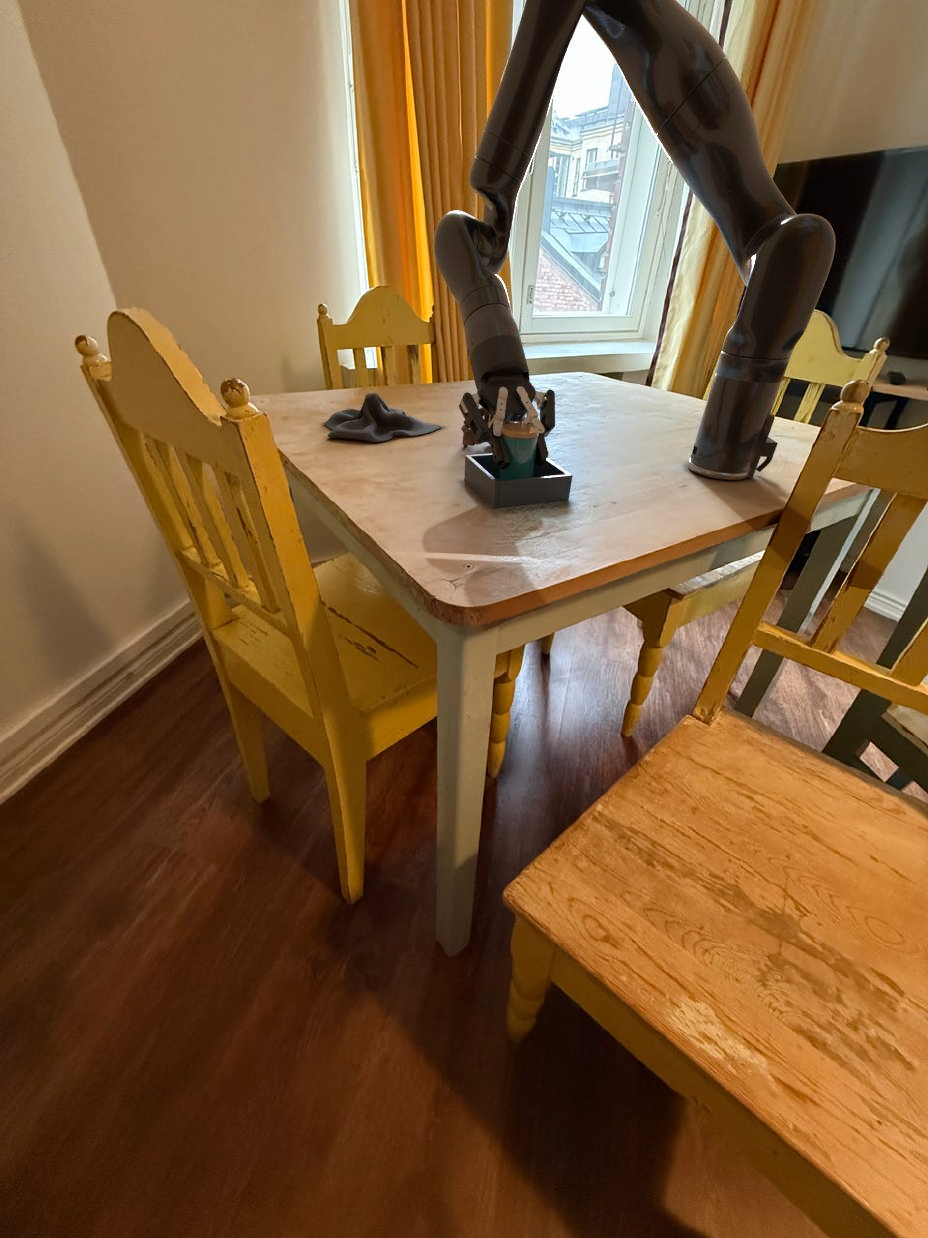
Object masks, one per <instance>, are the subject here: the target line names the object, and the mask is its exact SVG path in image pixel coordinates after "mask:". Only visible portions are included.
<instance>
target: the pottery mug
mask: <svg viewBox="0 0 928 1238" xmlns="http://www.w3.org/2000/svg"><path fill="white" fill-rule="evenodd" d="M479 410H480V412H481V414H482V416H483V418H484V420H485V422H486V424H487V426H488V425H489V416H490V414H489V413H488V412H487V411H486V410H485V409H484V408H483V407H482V406H481V407H479ZM508 423H516V422H513V421H507V422H504V423H503V425H505V424H508ZM460 430H461V431H462V433H463V434H462V445H463V447H464V448H467V447H468V446H471V447H474V446H476V445H482V444H483V443H487V442H486V441H481V442H478V441H476V440H475V438H474V436H473V434H472V432H471V430H470V428H469V426H468V424H467V422H466V420H465V419H464V420H463V425H462V426H461V428H460ZM501 437H502V434H501Z"/></svg>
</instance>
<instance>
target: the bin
mask: <svg viewBox="0 0 928 1238" xmlns="http://www.w3.org/2000/svg"><path fill="white" fill-rule="evenodd" d="M464 459H465V460H464V481H465V482H466V483H467V484H468V485H469V486H470V487H471V488H472V489H473V490H474V492H476V493H477V494H478V495H479V496H480V497H481V498H482V499H483V500H484V501H485V502H486V503H487V504H488V505H489V506H490V507H491V508H492V509H493V510H498V509H506V508H515V507H524V506H533V505H541V504H551V503H560V502H569V500H570V494H571V488H572V483H573V474H571V473H570V472H569V471H567V470H565V469H564V468H562V467H561V466H559V465H558V464H556V463H555V462H554V461H552V460H551V459H550V458H548V457H547V459H546V462H545V463H544V464H543V465H542V466H536V465H535V466H534V475H533V478H523V479H512V480H502V481H498V480H499V465H498V466H497V465H496V464H495V462H494V458H493V454H492V452H491V453H479V454H466V455H465V457H464Z"/></svg>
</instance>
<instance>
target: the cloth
mask: <svg viewBox="0 0 928 1238" xmlns="http://www.w3.org/2000/svg"><path fill="white" fill-rule="evenodd" d="M323 424H324V426H326V427H327V428H328V429H330V430H331V431H330V432H329V433H328V434H327V437H328V438H330V439H344V440H345V439H346V440H356V441H357V440H358V441H359V440H360V441H363V442H364V441H365V442H370V443H382V442H387V441H390V440H392V439H393V438H395V437H417V436H424V435H427V434H430V433H432V432H435V431H437V430H440V429H442V428H443V426H442V425H438V424H433V423H427V422H424V421H421V420H420V419H417V418H415V417H413V416H412V415H407V414H406V413H405V411H404V410H402V409H400V408H389V406H388V404H387V403H386V402H385V401H384V400H383V399H382V397H381V396H380V395H379V394H378V393H377V392H370V393H367V394H365V396H364V400H363V404H362V406H361V407H360V409H356V408H350V407H349V408H345V409H342V410H339V411H336V412H334V413H333V414H331V415H330V416H329V418H328V419H327V420H326V421H325V422H323Z"/></svg>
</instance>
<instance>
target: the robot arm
mask: <svg viewBox="0 0 928 1238" xmlns="http://www.w3.org/2000/svg"><path fill="white" fill-rule="evenodd" d="M582 16H583V18H584V19H585V20H586V22H587V23H588V24H589V25H590V27H591V28H592V29H593V30H594V32H595V33H596V34H597V36H598V37H599V38H600V40H601V41H602V42H603V43H604V45H605V47H606V48H607V49H608V51H609V52H610V54H611V56H612V57H613V59H614V60H615V63H616V65H617V66H618V68H619V70H620V72H621V75H622V77H623V79H624V81H625V83H626V85H627V86H628V89H629V91H630V93H631V94H632V97H633V98H634V100H635V102H636V104H637V106H638V108H639V109H640V111H641V113H642V115H643V117H644V119H645V120H646V122H647V124H648V126H649V128H650V129H651V132H652V133H653V135H654V136H655V138H656V140H657V141H658V143H659V145H660V146H661V148H662V149H663V150H664V151H663V152H664V153H665V154H666V155H667V158H668V160H669V161H670V162H671V163H672V165H673V166H674V168H675V169H676V170H677V172H678V173H679V175H680V176H681V178H682V179H683V181H684V182H685V184H686V185H687V187H688V188H689V189H690V191H691V192H692V193H693V195H694V196H695V198H696V199H697V200H698V201H699V202H700V204H701V205H702V207H703V208H704V209H705V210H706V211H707V213H708V214H709V215H710V217H711V218H712V220H713V221H714V223H715V225H716V226H717V228H718V230H719V232H720V234H721V236H722V238H723V241H724V242H725V244H726V246H727V249H728V250H729V252H730V254H731V255H730V256H731V257H732V259H733V262H734V264H735V266H736V269H737V271H738V273H739V275H740V279H741V280H742V282H743V284H744V286H745V287H746V289H745V292H744V296H743V299H742V301H741V304H740V308H739V311H738V314H737V316H736V318H735V321H734V322H733V324H732V326H731V327H730V329H729V330H728V331H727V333H726V335H725V337H724V340H723V343H722V344H723V345H722V347H721V351H720V354H719V358H718V361H717V366H716V368H715V372H714V375H713V378H712V381H711V385H710V389H709V392H708V396H707V400H706V402H705V407H704V410H703V413H702V416H701V420H700V423H699V426H698V430H697V433H696V437H695V440H694V443H693V444H692V445H691V450H690V458H689V459H688V462H687V468H688V469H689V470H690V471H692V472H693V473H696V474H698V475H700V476H704V477H706V478H711V479H716V480H725V481H739V480H745V479H753V478H754V476H755V473H756V471H757V472H758V473H762V471H763V470H764V469H765V468H766V467H768V466H769V465H770V463H771V462H772V460H773V458H774V455H775V452H776V450H777V446H778V442H777V441H775V440H774V439H773V438H771V437H769V435H770V433H771V431H772V428H773V425H774V422H775V419H776V418H775V417H776V416H775V414H773V413H772V410H773V408H774V405H775V401H776V399H777V396H778V394H779V391H780V387H781V385H782V382H783V380H784V377H785V374H786V371H787V369H788V366H789V362H790V360H791V358H792V355H793V352H794V349H795V347H796V345H797V344H798V343H799V341H800V339H802V337H803V336H804V334H805V332H806V330H807V328H808V325H809V324H810V322H811V318H812V316H813V314H814V311H815V309H816V306H817V305H818V302H819V299H820V297H821V294H822V292H823V290H824V287H825V284H826V281H827V279H828V276H829V273H830V270H831V267H832V264H833V260H834V257H835V252H836V235H835V231H834V229H833V227H832V224H831V223H830V222H829V221H828V220H827V219H826V218H824V217H823V216H821V215H818V214H815V213H800V214H799V213H798V214H797V212H796V211H795V210H794V209H793V207H792V206H791V205H790V204H789V203H788V201H787V200H786V198H785V197H784V195H783V194H782V192H781V191H780V189H779V188H778V186H777V184H776V183H775V181H774V179H773V178H772V176H771V174H770V172H769V169H768V166H767V164H766V160H765V156H764V152H763V149H762V145H761V140H760V135H759V131H758V127H757V123H756V119H755V116H754V111H753V109H752V106H751V102H750V100H749V97H748V95H747V93H746V91H745V88H744V86H743V85H742V83H741V81H740V79H739V77H738V75H737V73H736V71H735V69H734V68H733V66H732V64H731V63H730V61H729V59H728V57H727V55H726V53H725V51H724V50H723V49H722V47H721V46H720V44H719V43H718V42H717V40H716V39H715V37H714V36H713V35H712V34H711V33H710V31H709V30H708V29H707V28H706V27H705V26H704V25H703V24H702V23H701V22H700V20H698V19H697V18H696V17H695V16H694V15H693V14H691V12H689V11H688V10H687V9H686V8H685V7H684V6H683V5H682V4H680V3H679V1H677V0H525V1H524V5H523V9H522V12H521V16H520V20H519V23H518V27H517V30H516V33H515V37H514V39H513V43H512V46H511V49H510V51H509V54H508V59H507V61H506V64H505V67H504V70H503V73H502V76H501V78H500V82H499V84H498V88H497V90H496V94H495V96H494V99H493V102H492V105H491V108H490V111H489V113H488V117H487V120H486V121H485V125H484V129H483V131H482V134H481V137H480V140H479V143H478V144H477V145H478V146H477V149H476V152H475V155H474V158H473V160H472V163H471V167H470V170H469V174H468V183H469V186H470V187H471V189H472V190H473V192H474V193H475V194H476V195H477V196H478V197H479V198H480V199H481V200H482V202H483V213H482V220H480V219H478V218H477V217H475V216H473V215H471V214H469V213H467V212H465V211H462V210H451V211H449V212H447V213H445V214H443V216H442V217H441V219H439V221H438V222H437V225H436V228H435V231H434V237H433V252H434V258H435V263H436V265H437V267H438V270H439V272H440V274H441V276H442V279H443V280H444V282H445V284H446V286H447V288H448V289H449V292H450V294H451V295H452V297H453V299H454V300H455V302H456V303H457V305H458V310H459V313H460V318H461V323H462V325H463V330H464V339H465V346H466V355H467V356H468V359H469V364H470V367H471V371H472V376H473V380H474V384H475V388H476V390H477V391H476V393H473V394H472V393H471V392H467V391H466V392H464V393H463V396H462V398H461V400H460V402H459V404H458V409H459V410H460V413H461V414H462V417H463V419H464V420H466V422H467V424H468V426H469V429H470V430H471V432H472V434H473V436H474V438H475V440H476V441H478V442H481V441H486V442H485V443H488V444H489V446H490V450H491V453H492V454H493V458H494V462H495V464H496V465H497V466H498V465H499V468H500V470H501V469H506V468H507V467H508V465H509V463H510V459H509V455H508V451H507V447H506V443H505V439H504V437H501V434H502V427H503V423H504V422H507V421H513V422H515V423H526V424H531V425H534V426H537V427H538V428H539V435H538V440H537V449H536V457H535V465H536V466H542V465H543V464H544V463H545V462H546V459H547V458H548V457H549V450H548V447H547V442H546V438H547V437H548V436H549V435H550V433H551V432H552V431H553V430H554V428H555V427H556V392H555V390H553V389H551V388H549V389H547V390H546V392H543V391H539V390H536V388H535V386H534V385H533V384H532V382H531V379H530V369H529V365H528V361H527V358H526V354H525V350H524V347H523V341H522V338H521V335H520V330H519V327H518V324H517V322H516V320H515V317H514V314H513V311H512V306H511V303H510V299H509V294H508V292H507V288H506V285H505V283H504V281H503V280H502V278H501V277H500V276H499V274H500V272H501V270H502V269H503V267H504V265H505V262H506V260H507V256H508V252H509V247H510V240H511V236H512V235H511V234H512V229H513V223H514V219H515V218H514V217H515V213H516V207H517V200H518V196H519V193H520V190H521V188H522V185H523V183H524V181H525V179H526V176H527V172H528V171H529V168H530V166H531V163H532V160H533V158H534V155H535V153H536V150H537V147H538V145H539V142H540V138H541V136H542V132H543V129H544V127H545V123H546V120H547V117H548V115H549V114H548V113H549V110H550V107H551V103H552V99H553V97H554V93H555V90H556V87H557V83H558V80H559V77H560V74H561V71H562V68H563V64H564V62H565V59H566V55H567V53H568V50H569V47H570V44H571V42H572V39H573V37H574V35H575V32H576V30H577V27H578V26H579V22H580V20H581V18H582ZM533 402H535V403H536V407H535V406H534V404H533ZM480 407H481V408H482V407H483V408H484V409H485V410H486V411H487V412H488V413H489V414H490V416H489V425H488V426H487V424H486V422H485V420H484V416H482V414H481V412H480V410H479V408H480ZM537 410H538V411H539V413H538V411H537ZM762 457H763V458H765V459H764V461H762V463H760V461H761V458H762ZM759 463H760V464H759ZM758 464H759V465H758Z"/></svg>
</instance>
